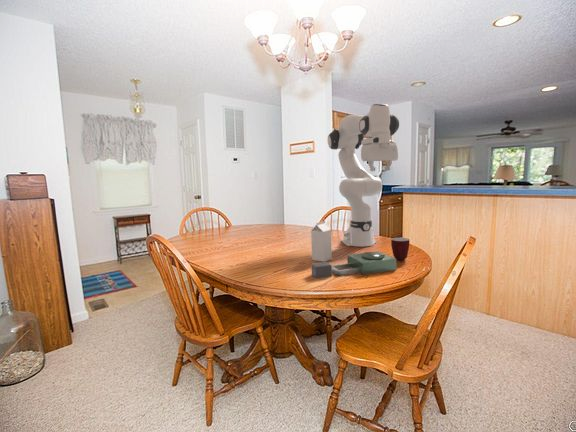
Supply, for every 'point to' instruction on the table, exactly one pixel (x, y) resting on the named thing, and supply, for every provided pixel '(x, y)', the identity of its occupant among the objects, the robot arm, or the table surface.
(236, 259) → the table surface
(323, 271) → the grey rectangular block
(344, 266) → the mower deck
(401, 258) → the mug
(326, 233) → the milk carton
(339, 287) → the table surface
